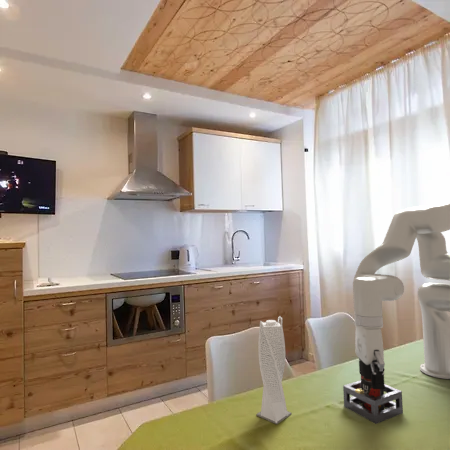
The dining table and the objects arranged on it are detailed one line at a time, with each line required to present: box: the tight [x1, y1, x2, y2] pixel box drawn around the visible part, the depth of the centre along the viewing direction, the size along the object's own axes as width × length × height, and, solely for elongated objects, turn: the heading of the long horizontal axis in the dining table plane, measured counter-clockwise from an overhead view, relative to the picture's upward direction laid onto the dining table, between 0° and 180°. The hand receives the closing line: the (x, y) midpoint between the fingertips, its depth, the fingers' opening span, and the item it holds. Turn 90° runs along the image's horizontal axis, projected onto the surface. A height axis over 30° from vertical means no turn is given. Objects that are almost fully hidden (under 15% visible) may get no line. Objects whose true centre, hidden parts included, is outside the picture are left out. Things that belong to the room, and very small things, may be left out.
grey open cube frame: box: [342, 379, 404, 425], centre depth 97 cm, size 11×11×7 cm
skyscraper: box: [256, 315, 292, 425], centre depth 95 cm, size 8×8×28 cm
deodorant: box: [359, 359, 386, 412], centre depth 97 cm, size 6×6×15 cm
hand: (371, 381), depth 97 cm, fingers open, 9 cm apart
